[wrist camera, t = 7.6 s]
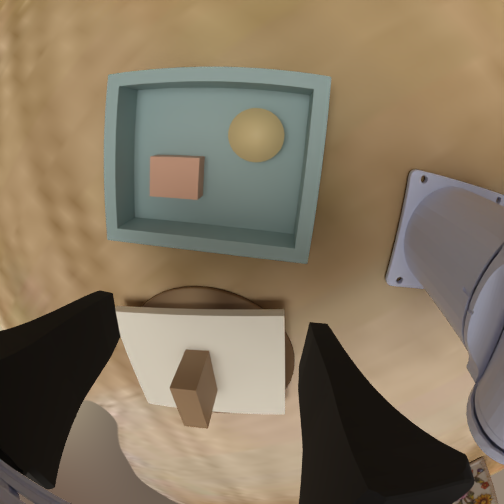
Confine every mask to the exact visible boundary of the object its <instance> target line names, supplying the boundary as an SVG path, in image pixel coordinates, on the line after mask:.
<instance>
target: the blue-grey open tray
mask: <svg viewBox="0 0 504 504" xmlns="http://www.w3.org/2000/svg"><path fill="white" fill-rule="evenodd" d="M330 87H331V77H329V76H323V75H316V74H309V73H302V72H294V71H284V70H274V69H261V68H243V67H181V68H164V69H151V70H141V71H132V72H124V73H117V74H110V75H108V85H107V96H106V110H105V131H104V190H105V212H106V226H107V238H108V240H113V241H121V242H129V243H137V244H146V245H154V246H162V247H170V248H178V249H186V250H194V251H203V252H211V253H219V254H228V255H236V256H244V257H253V258H261V259H270V260H278V261H287V262H295V263H304V264H307V262H308V256H309V251H310V245H311V239H312V232H313V226H314V220H315V213H316V206H317V199H318V192H319V185H320V178H321V170H322V162H323V154H324V146H325V137H326V128H327V119H328V109H329V98H330Z"/></svg>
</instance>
